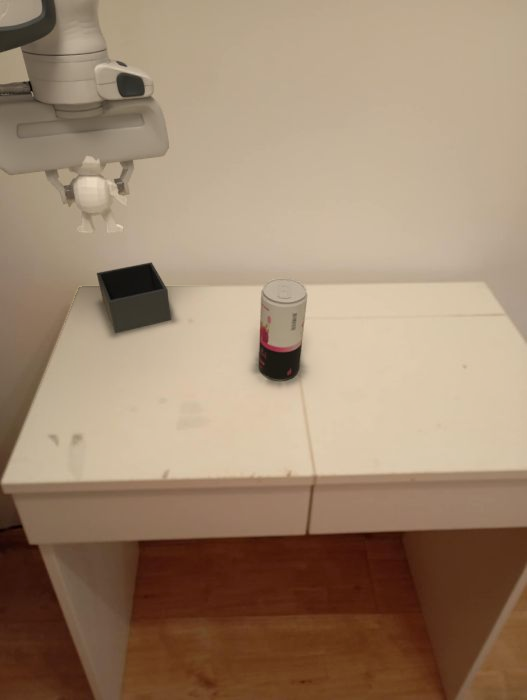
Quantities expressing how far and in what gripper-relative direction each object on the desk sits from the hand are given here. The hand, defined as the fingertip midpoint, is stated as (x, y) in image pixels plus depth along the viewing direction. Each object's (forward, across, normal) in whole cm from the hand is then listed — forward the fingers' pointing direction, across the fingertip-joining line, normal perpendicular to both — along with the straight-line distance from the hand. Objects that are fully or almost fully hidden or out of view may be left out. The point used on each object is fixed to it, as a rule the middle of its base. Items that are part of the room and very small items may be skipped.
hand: (96, 197), depth 62 cm
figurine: (+5, 0, 0) cm, 5 cm away
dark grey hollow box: (+26, +4, +9) cm, 28 cm away
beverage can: (+26, +21, -15) cm, 37 cm away
